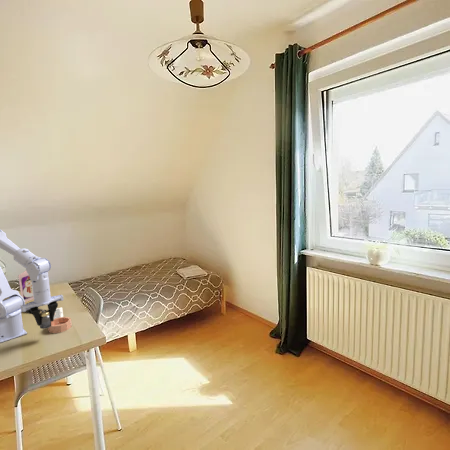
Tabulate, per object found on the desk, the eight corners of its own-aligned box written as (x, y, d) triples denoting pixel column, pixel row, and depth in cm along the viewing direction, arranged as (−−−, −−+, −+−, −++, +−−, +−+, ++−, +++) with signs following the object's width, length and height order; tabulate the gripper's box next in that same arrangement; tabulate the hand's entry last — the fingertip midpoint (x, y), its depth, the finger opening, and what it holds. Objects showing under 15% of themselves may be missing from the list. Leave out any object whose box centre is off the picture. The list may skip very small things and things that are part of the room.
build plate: (17, 312, 153) (16, 303, 152) (32, 306, 160) (31, 298, 159) (34, 316, 148) (32, 307, 147) (48, 310, 154) (47, 301, 154)
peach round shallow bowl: (53, 335, 129) (52, 328, 128) (45, 328, 135) (44, 322, 134) (74, 327, 135) (74, 320, 135) (66, 321, 141) (66, 315, 140)
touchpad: (44, 325, 139) (43, 320, 138) (44, 313, 152) (43, 308, 151) (63, 321, 142) (63, 316, 142) (62, 309, 155) (61, 305, 155)
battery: (42, 329, 122) (40, 313, 121) (38, 326, 125) (36, 310, 124) (53, 326, 125) (51, 310, 124) (49, 322, 128) (47, 307, 127)
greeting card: (23, 303, 163) (19, 275, 160) (14, 301, 166) (10, 274, 163) (43, 295, 173) (40, 269, 171) (34, 294, 176) (31, 268, 174)
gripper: (23, 297, 115) (27, 332, 117) (65, 287, 125) (68, 319, 127) (17, 293, 119) (22, 326, 121) (58, 283, 130) (61, 314, 132)
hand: (45, 322), depth 125 cm, fingers closed on battery, 4 cm apart
